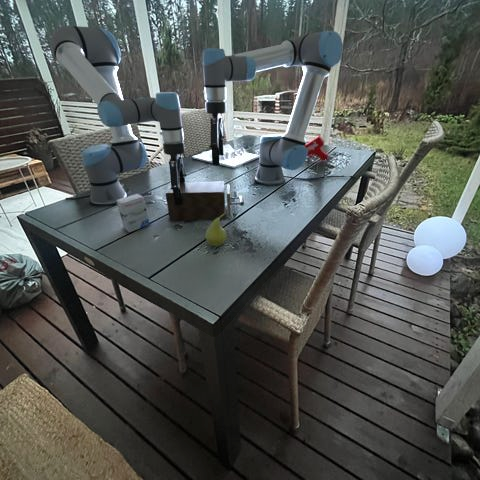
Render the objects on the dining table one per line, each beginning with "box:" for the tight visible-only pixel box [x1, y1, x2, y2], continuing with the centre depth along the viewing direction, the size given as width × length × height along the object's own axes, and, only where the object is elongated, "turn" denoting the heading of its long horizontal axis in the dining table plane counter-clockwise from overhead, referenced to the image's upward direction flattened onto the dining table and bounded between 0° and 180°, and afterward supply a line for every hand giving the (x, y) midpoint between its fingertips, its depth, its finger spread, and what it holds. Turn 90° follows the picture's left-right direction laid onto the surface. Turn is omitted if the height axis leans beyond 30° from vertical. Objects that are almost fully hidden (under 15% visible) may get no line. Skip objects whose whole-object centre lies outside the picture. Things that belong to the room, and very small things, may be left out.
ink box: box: [116, 193, 151, 233], centre depth 100 cm, size 8×5×12 cm, turn 135°
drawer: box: [226, 183, 245, 218], centre depth 109 cm, size 26×10×10 cm, turn 92°
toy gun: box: [305, 135, 329, 163], centre depth 172 cm, size 18×4×15 cm
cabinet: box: [165, 180, 226, 222], centre depth 109 cm, size 22×11×12 cm, turn 92°
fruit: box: [204, 210, 227, 248], centre depth 90 cm, size 7×8×12 cm
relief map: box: [192, 143, 259, 169], centre depth 179 cm, size 27×35×5 cm
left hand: (181, 198), depth 108 cm, fingers closed on cabinet, 11 cm apart
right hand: (218, 159), depth 109 cm, fingers open, 13 cm apart
